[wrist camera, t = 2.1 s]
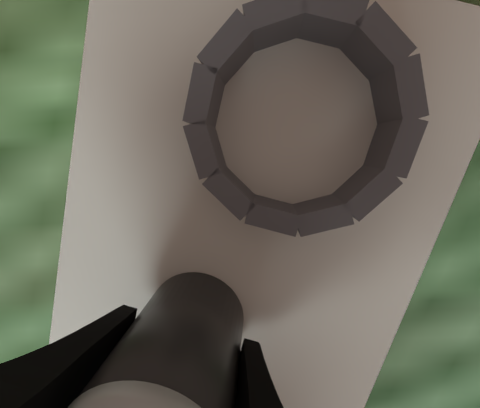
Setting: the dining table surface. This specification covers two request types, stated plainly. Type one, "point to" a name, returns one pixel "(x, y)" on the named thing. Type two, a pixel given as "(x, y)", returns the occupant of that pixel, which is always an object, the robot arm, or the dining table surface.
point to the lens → (174, 351)
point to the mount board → (271, 169)
